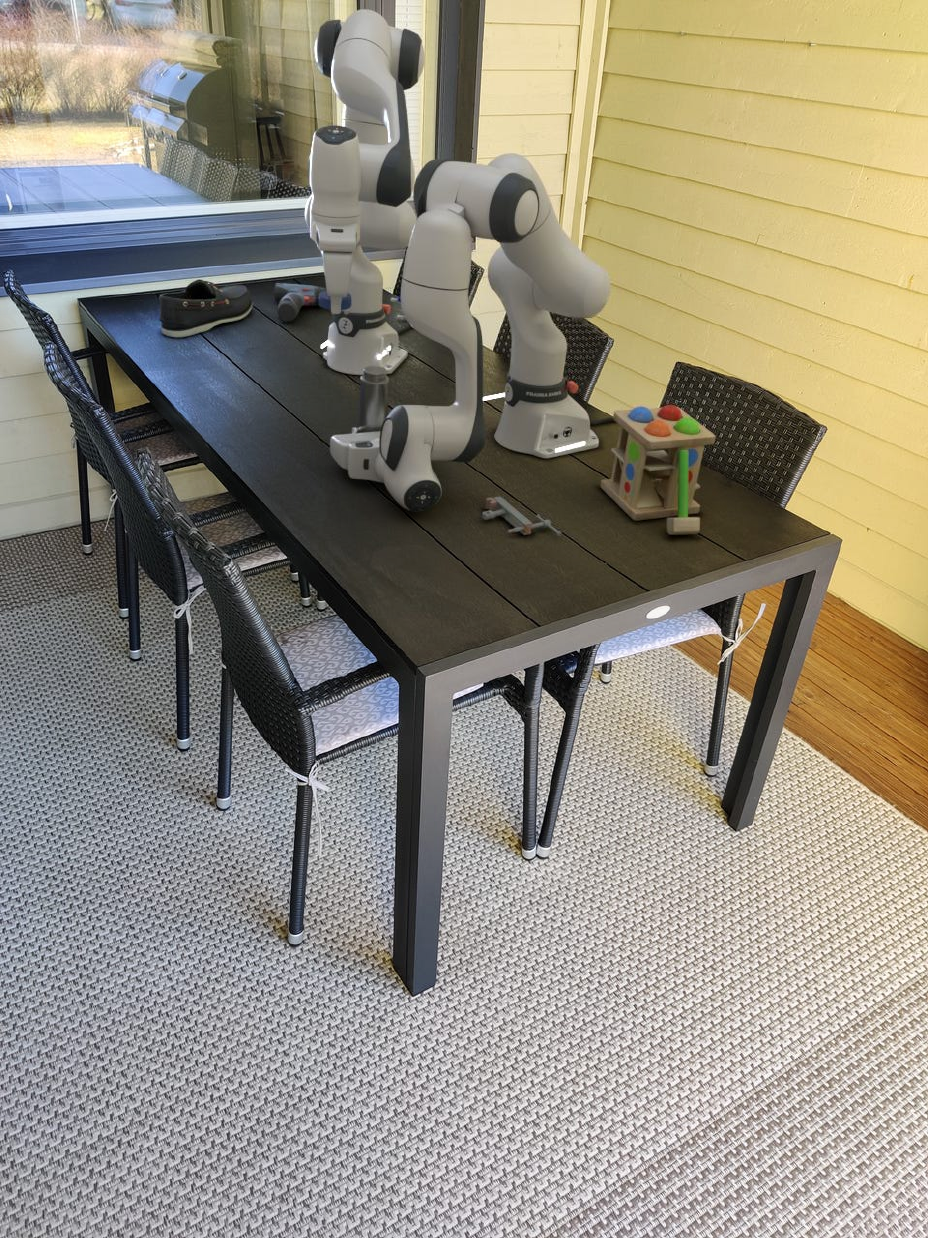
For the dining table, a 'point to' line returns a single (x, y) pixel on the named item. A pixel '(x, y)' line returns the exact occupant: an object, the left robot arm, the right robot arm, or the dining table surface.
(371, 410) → the dark grey bottle
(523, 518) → the clamp
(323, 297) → the lid
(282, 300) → the power drill
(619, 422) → the pounding bench toy
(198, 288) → the boat shoe
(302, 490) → the dining table surface
